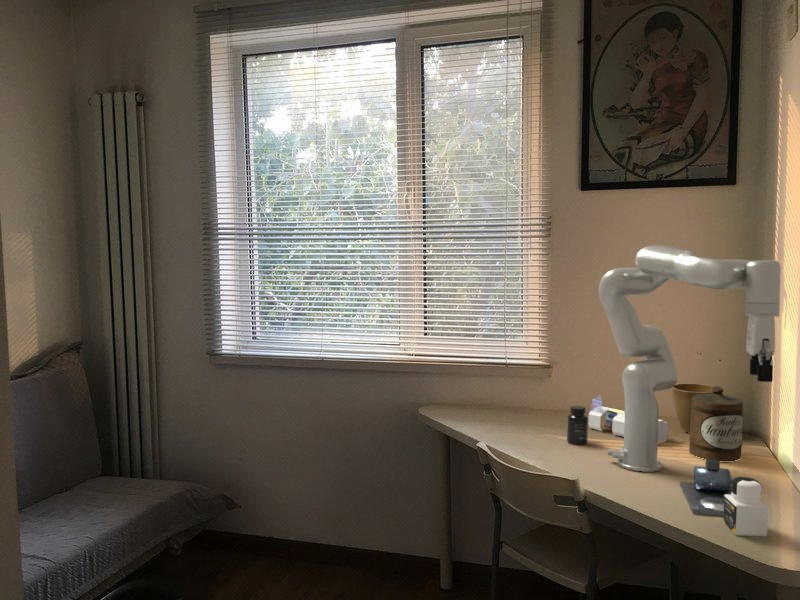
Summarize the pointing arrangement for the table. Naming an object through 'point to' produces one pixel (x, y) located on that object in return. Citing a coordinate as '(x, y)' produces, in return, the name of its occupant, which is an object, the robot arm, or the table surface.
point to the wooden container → (716, 426)
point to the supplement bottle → (577, 426)
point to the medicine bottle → (745, 508)
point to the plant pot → (687, 401)
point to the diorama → (618, 420)
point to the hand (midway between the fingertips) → (760, 378)
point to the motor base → (708, 489)
